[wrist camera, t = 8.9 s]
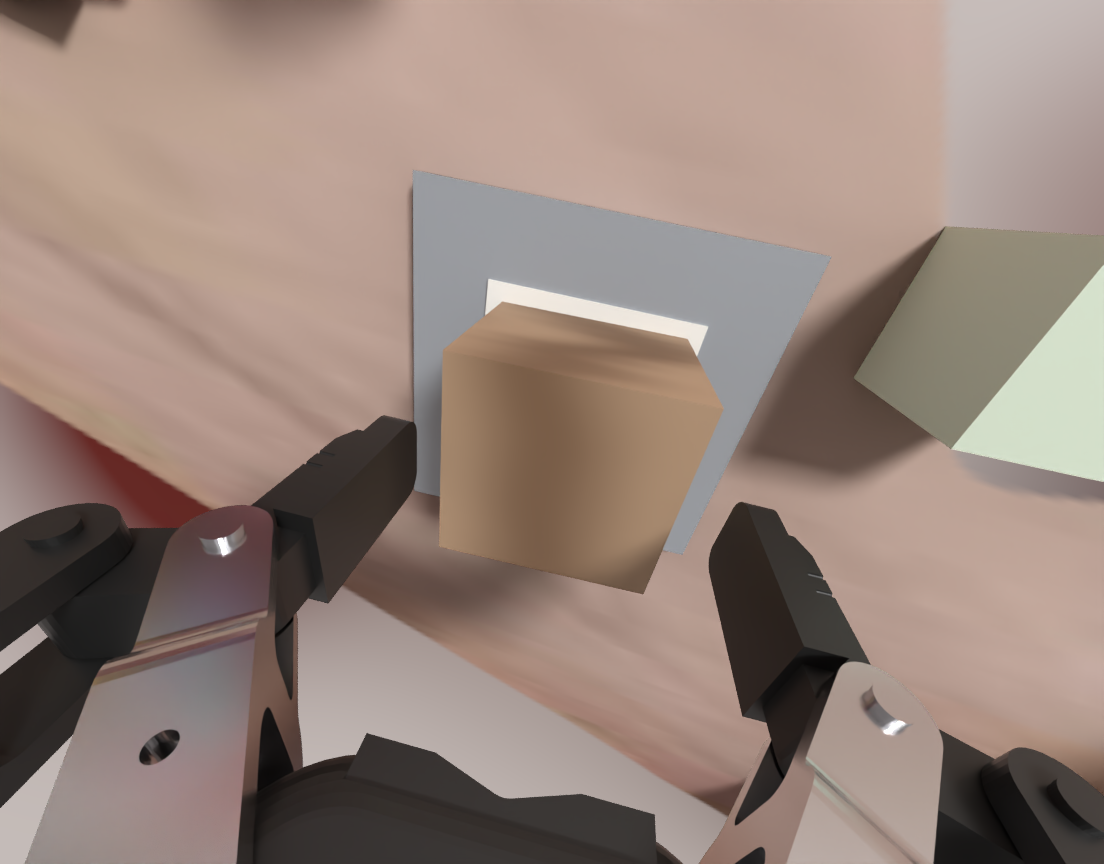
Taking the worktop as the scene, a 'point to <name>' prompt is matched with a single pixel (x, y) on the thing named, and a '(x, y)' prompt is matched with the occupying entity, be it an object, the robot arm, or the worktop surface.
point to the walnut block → (569, 443)
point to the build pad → (602, 298)
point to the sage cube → (1002, 348)
